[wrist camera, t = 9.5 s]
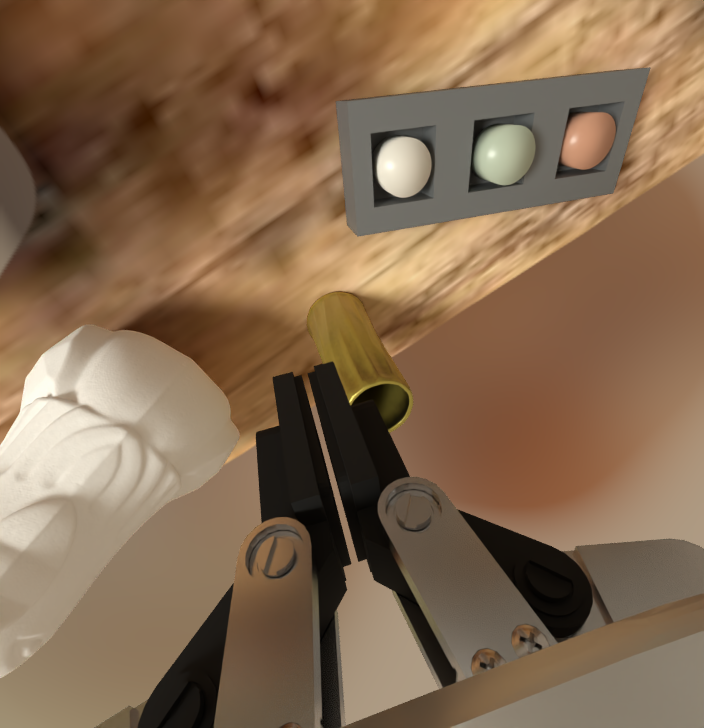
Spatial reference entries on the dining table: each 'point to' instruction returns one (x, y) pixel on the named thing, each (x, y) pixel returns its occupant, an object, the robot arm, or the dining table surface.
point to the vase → (359, 356)
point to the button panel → (457, 134)
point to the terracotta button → (586, 139)
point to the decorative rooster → (95, 468)
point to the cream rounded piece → (401, 165)
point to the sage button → (502, 153)
